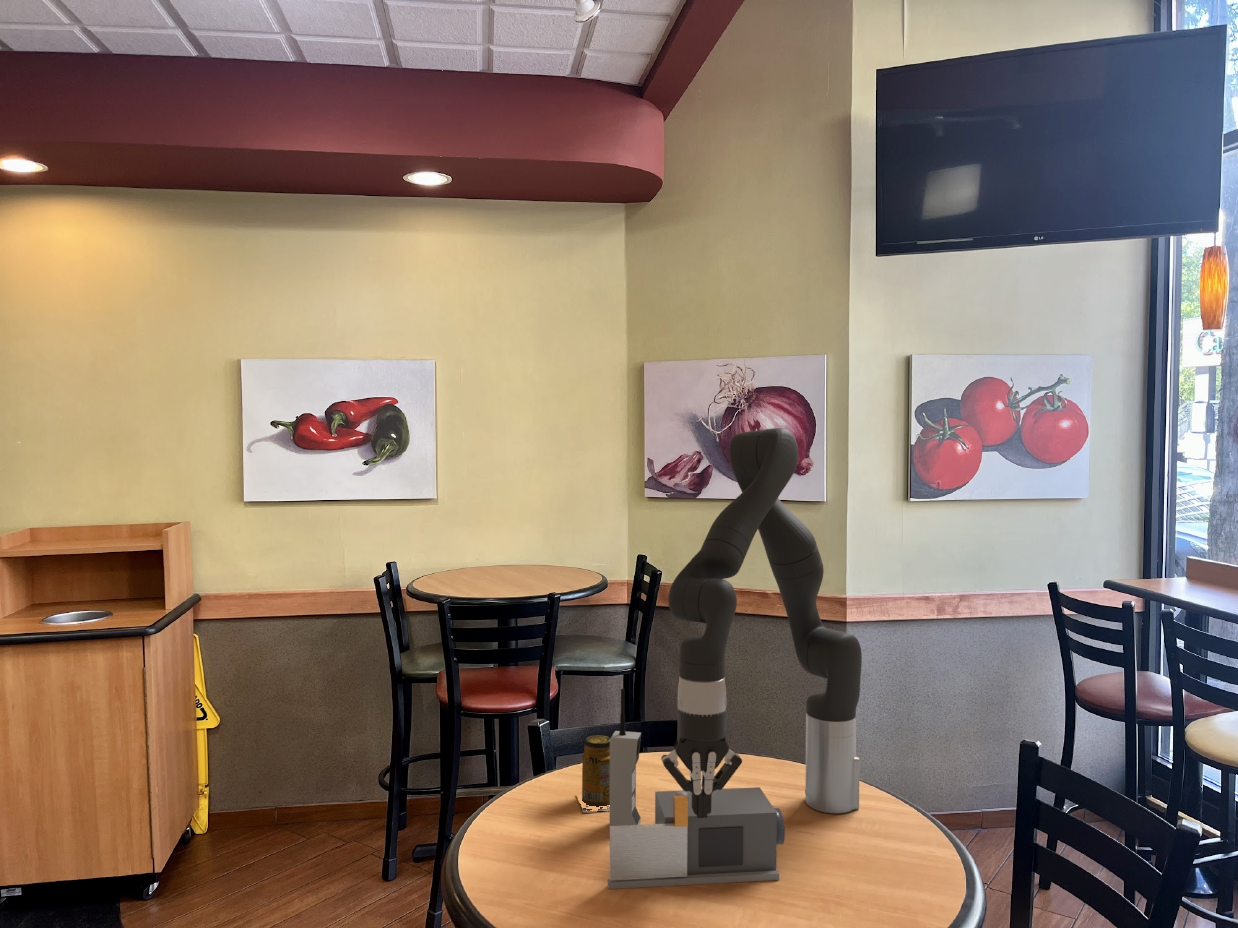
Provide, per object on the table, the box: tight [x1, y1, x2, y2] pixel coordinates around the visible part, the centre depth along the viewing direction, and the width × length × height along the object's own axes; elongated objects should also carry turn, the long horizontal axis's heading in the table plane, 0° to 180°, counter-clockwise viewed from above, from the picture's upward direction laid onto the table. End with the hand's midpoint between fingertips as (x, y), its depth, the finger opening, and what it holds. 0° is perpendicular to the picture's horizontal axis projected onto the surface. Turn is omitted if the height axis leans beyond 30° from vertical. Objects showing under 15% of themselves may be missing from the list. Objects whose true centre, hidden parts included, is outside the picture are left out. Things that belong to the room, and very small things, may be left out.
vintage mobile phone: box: [609, 688, 642, 827], centre depth 151 cm, size 4×5×25 cm
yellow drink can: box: [579, 734, 611, 814], centre depth 162 cm, size 7×8×12 cm
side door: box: [609, 795, 688, 881], centre depth 131 cm, size 12×2×12 cm, turn 96°
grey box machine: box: [607, 786, 786, 890], centre depth 138 cm, size 29×12×11 cm, turn 96°
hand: (701, 815), depth 132 cm, fingers closed
